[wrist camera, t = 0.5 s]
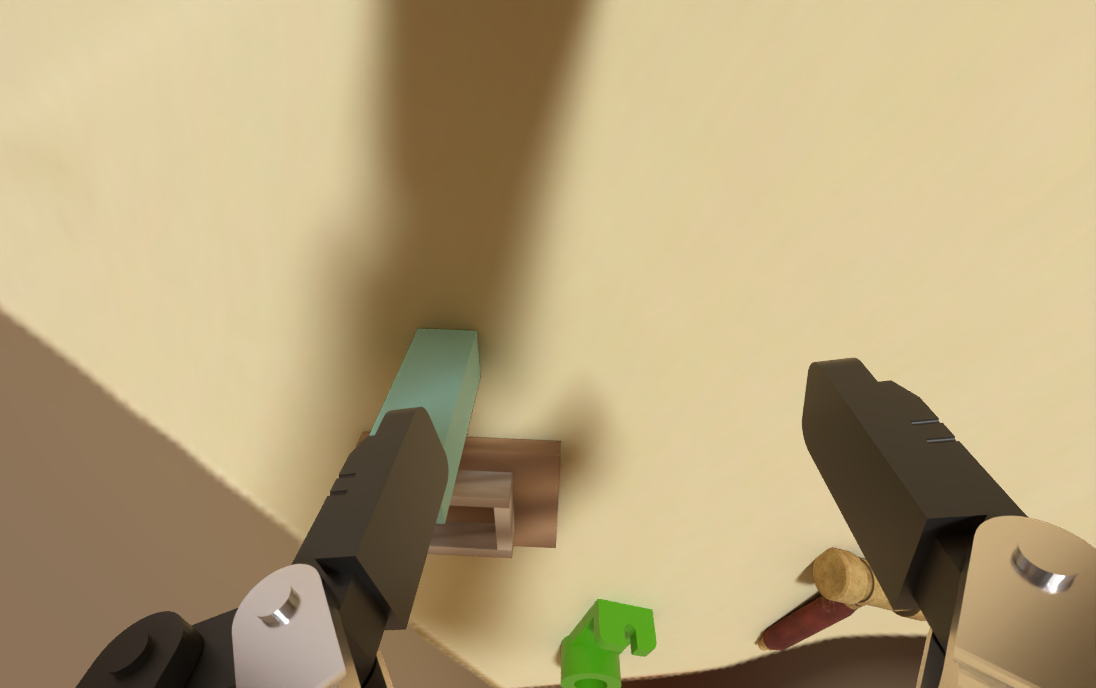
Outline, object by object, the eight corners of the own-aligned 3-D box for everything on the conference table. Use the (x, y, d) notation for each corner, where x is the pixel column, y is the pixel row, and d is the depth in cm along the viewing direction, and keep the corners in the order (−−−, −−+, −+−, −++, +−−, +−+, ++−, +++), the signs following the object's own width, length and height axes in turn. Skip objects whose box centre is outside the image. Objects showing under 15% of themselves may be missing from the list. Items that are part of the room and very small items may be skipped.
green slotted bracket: (605, 657, 64) (607, 699, 60) (554, 648, 63) (553, 690, 59) (654, 607, 55) (660, 652, 51) (595, 595, 54) (597, 641, 50)
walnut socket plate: (363, 432, 39) (344, 471, 36) (560, 441, 39) (559, 482, 36) (391, 525, 47) (377, 564, 44) (556, 533, 47) (554, 574, 43)
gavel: (803, 676, 57) (727, 661, 55) (791, 633, 60) (719, 617, 59) (952, 610, 43) (856, 588, 42) (925, 560, 47) (836, 538, 45)
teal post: (418, 328, 33) (352, 471, 23) (476, 330, 33) (435, 475, 23) (425, 373, 35) (369, 520, 26) (480, 375, 35) (445, 523, 25)
